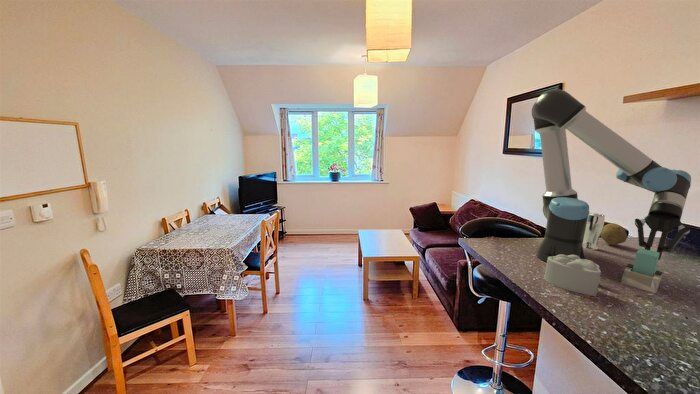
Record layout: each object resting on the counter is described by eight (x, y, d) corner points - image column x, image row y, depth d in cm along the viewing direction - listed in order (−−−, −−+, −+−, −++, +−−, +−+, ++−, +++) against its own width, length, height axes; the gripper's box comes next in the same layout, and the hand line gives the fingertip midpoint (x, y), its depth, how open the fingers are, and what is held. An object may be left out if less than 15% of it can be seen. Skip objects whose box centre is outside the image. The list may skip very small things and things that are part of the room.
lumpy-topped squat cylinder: (597, 297, 81) (603, 269, 80) (543, 283, 89) (547, 257, 87) (594, 284, 90) (599, 258, 88) (545, 272, 97) (549, 248, 96)
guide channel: (624, 273, 98) (627, 257, 97) (666, 284, 91) (671, 267, 90) (614, 286, 89) (617, 268, 88) (660, 300, 81) (665, 281, 80)
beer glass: (597, 247, 124) (603, 214, 122) (600, 252, 118) (607, 217, 116) (577, 243, 128) (583, 211, 125) (579, 248, 122) (585, 214, 119)
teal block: (633, 277, 92) (639, 248, 91) (652, 282, 89) (659, 252, 87) (629, 282, 89) (636, 252, 87) (649, 288, 85) (657, 256, 83)
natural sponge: (591, 241, 132) (595, 220, 130) (609, 241, 133) (613, 220, 131) (611, 248, 123) (615, 226, 122) (629, 248, 124) (634, 226, 122)
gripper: (693, 219, 94) (678, 279, 87) (639, 211, 104) (621, 264, 97) (697, 205, 90) (681, 267, 83) (640, 198, 100) (621, 253, 93)
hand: (648, 265), depth 90 cm, fingers closed
